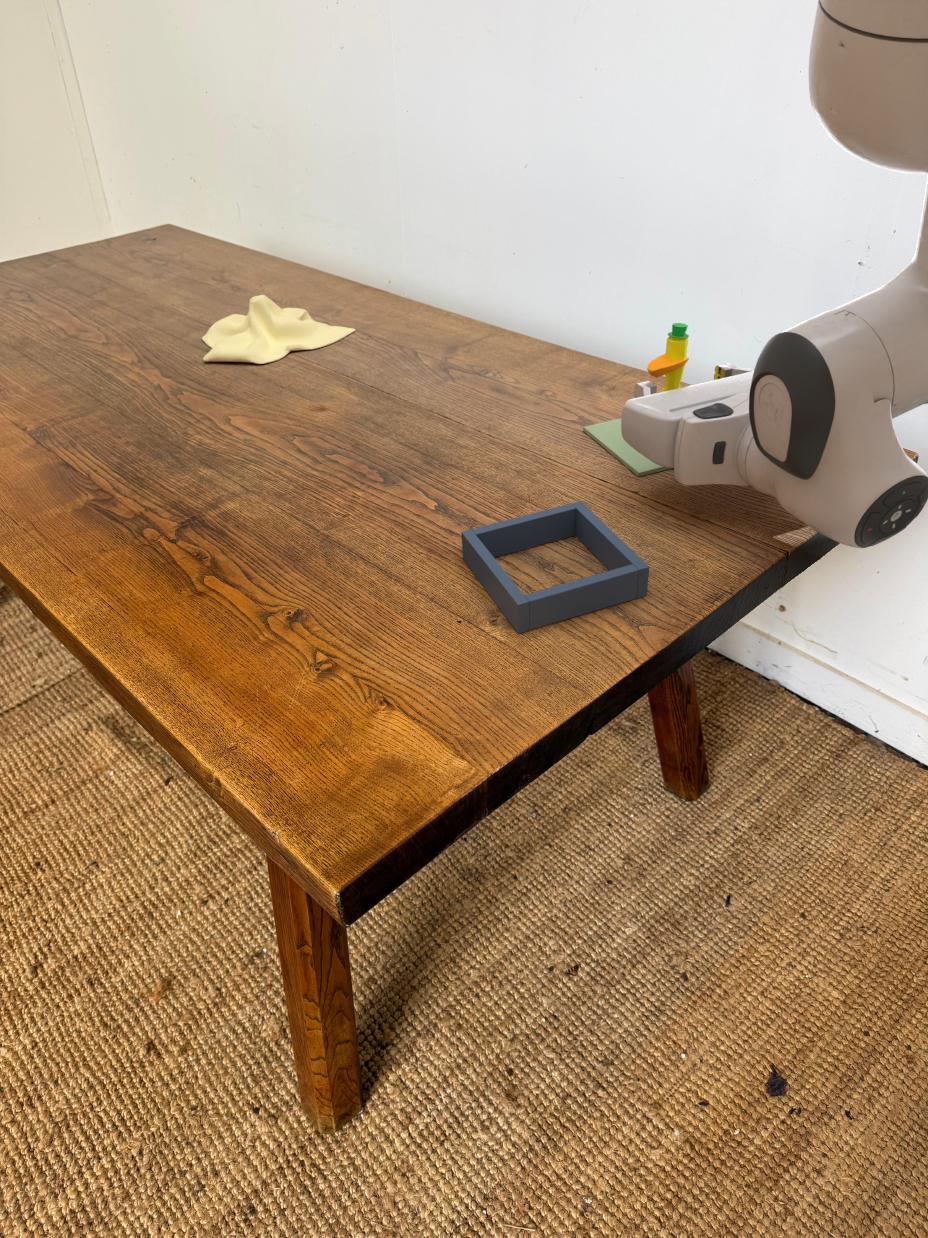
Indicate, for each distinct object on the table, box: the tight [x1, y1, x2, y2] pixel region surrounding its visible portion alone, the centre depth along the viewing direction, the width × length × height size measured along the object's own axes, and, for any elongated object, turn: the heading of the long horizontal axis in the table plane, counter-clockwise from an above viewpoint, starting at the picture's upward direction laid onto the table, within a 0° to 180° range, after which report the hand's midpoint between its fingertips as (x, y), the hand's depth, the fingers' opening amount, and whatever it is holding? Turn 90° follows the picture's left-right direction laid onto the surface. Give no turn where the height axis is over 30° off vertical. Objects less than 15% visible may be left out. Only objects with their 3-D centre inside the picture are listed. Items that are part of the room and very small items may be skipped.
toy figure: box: [646, 322, 690, 393], centre depth 93 cm, size 7×4×12 cm, turn 131°
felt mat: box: [582, 417, 672, 477], centre depth 96 cm, size 12×12×1 cm
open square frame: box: [460, 500, 650, 635], centre depth 76 cm, size 12×12×3 cm
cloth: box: [201, 294, 356, 365], centre depth 126 cm, size 22×19×6 cm
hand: (680, 379), depth 90 cm, fingers open, 8 cm apart
